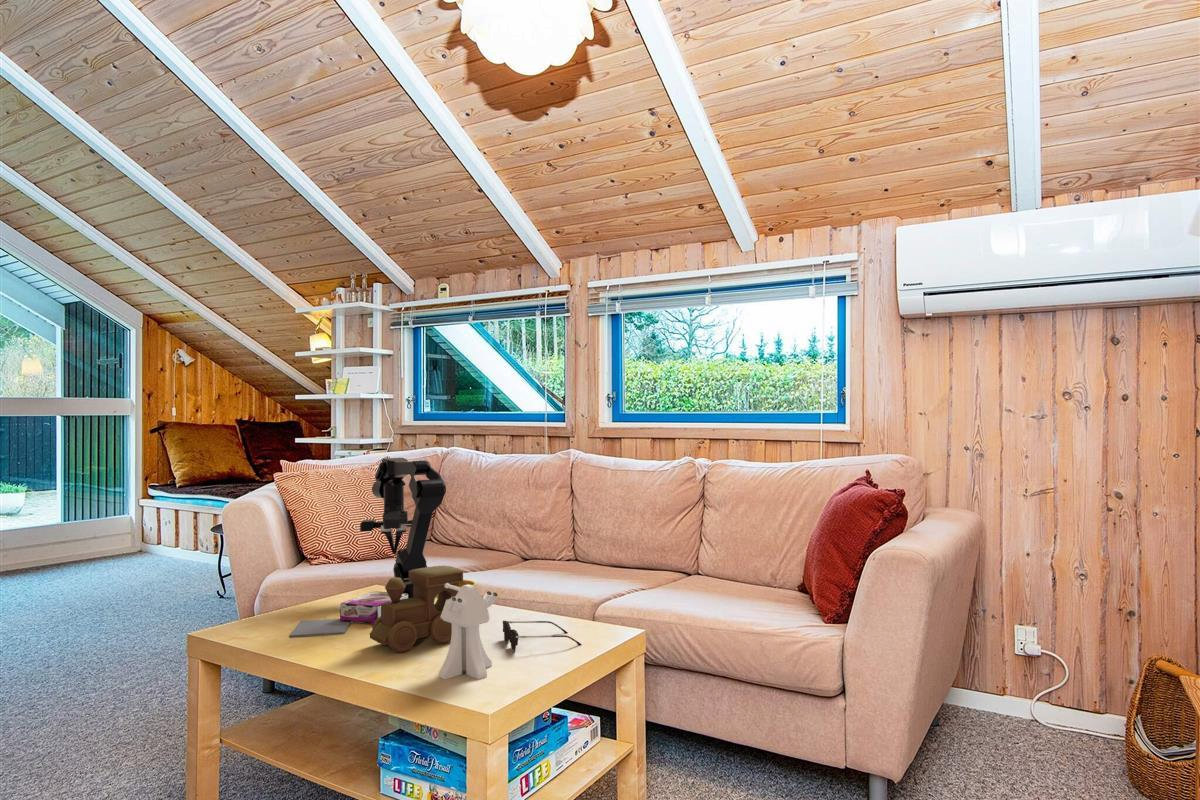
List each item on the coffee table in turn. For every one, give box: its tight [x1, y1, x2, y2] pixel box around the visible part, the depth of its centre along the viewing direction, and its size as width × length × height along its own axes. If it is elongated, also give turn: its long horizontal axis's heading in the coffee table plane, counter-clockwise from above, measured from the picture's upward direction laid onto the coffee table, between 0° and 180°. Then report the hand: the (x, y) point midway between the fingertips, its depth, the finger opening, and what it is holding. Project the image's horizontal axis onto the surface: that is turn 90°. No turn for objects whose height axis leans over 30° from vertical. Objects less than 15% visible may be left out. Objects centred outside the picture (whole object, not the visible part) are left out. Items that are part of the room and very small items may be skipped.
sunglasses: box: [502, 620, 582, 653], centre depth 187 cm, size 14×16×5 cm
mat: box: [288, 618, 352, 638], centre depth 202 cm, size 13×14×1 cm
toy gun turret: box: [438, 583, 499, 680], centre depth 167 cm, size 12×13×18 cm
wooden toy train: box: [369, 565, 464, 653], centre depth 188 cm, size 20×11×17 cm, turn 129°
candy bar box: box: [339, 590, 408, 625], centre depth 213 cm, size 11×5×16 cm
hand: (394, 553), depth 235 cm, fingers closed
